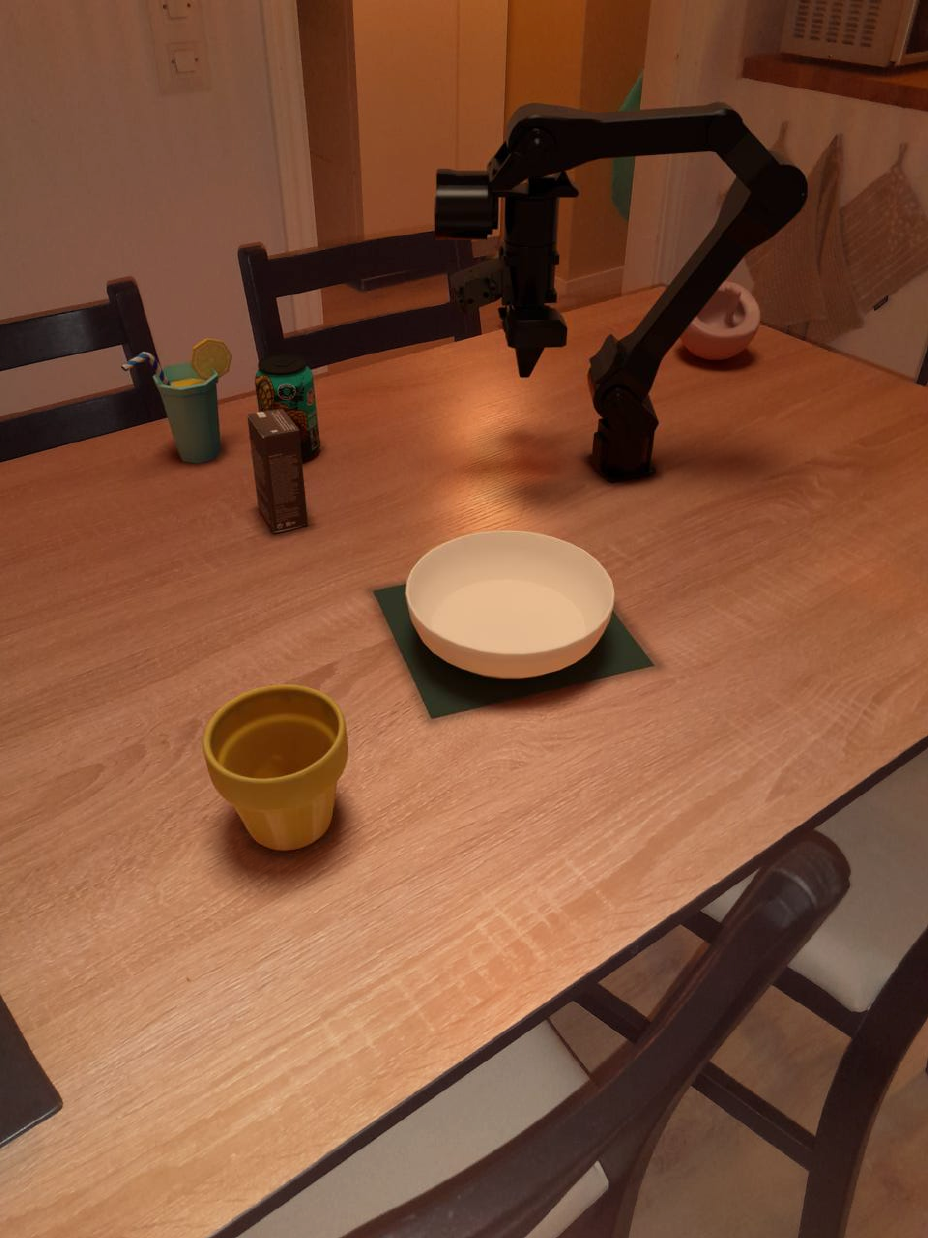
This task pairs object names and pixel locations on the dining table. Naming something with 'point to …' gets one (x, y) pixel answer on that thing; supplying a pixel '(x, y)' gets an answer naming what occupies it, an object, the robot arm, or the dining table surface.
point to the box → (278, 469)
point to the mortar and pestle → (723, 324)
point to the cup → (192, 398)
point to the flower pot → (278, 761)
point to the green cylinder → (290, 395)
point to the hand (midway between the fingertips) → (524, 376)
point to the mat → (465, 690)
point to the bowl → (509, 603)
